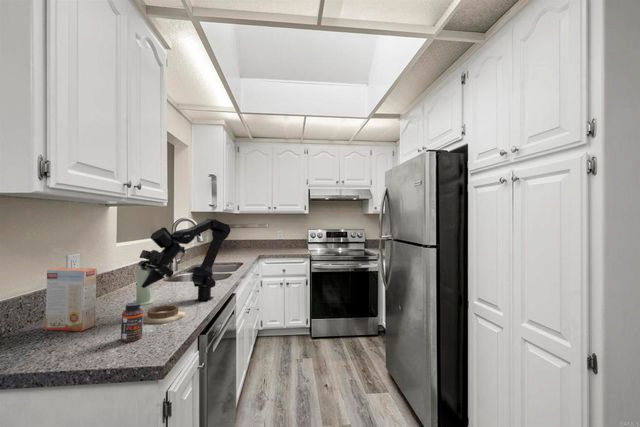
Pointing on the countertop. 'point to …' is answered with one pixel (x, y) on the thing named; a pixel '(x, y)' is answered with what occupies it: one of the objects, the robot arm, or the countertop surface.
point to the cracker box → (70, 299)
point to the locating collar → (163, 314)
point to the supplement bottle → (132, 322)
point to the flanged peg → (141, 292)
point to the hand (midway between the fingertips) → (139, 286)
